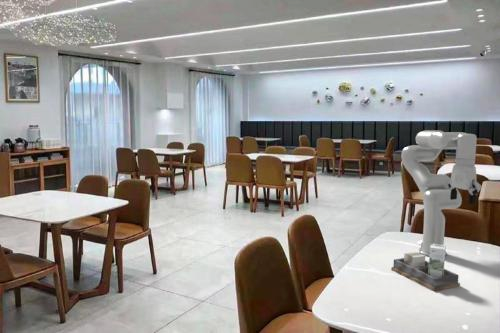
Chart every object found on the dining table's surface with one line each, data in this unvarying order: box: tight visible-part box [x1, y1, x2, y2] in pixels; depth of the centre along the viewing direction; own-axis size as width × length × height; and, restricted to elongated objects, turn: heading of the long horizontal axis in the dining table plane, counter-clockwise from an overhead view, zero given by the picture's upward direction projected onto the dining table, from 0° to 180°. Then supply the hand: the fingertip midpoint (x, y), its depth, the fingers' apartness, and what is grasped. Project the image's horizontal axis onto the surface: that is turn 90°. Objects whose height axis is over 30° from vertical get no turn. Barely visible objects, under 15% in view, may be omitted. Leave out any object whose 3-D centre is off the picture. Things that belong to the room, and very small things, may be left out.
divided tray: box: [391, 251, 461, 292], centre depth 186 cm, size 25×14×8 cm, turn 22°
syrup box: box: [428, 244, 447, 278], centre depth 180 cm, size 6×6×14 cm
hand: (462, 201), depth 193 cm, fingers open, 9 cm apart
